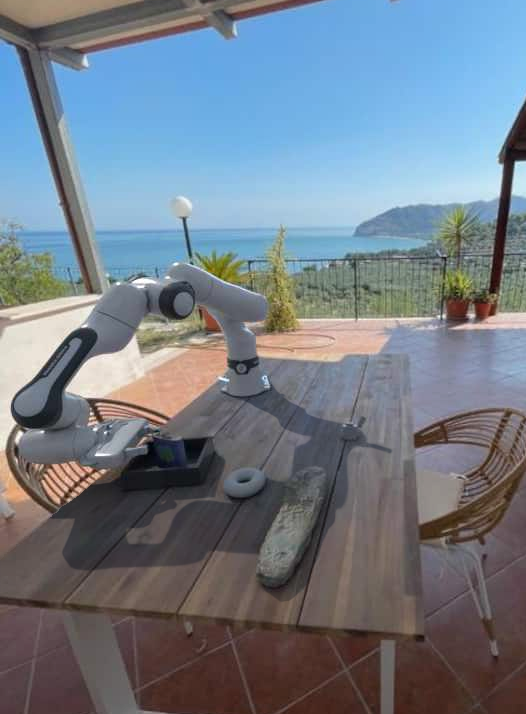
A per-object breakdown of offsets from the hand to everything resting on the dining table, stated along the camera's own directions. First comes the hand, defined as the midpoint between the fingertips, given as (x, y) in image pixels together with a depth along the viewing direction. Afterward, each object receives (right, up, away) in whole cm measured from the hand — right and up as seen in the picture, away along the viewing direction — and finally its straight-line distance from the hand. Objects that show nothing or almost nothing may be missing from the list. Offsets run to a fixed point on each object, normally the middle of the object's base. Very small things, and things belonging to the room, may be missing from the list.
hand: (154, 439), depth 99 cm
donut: (+24, -12, -4) cm, 27 cm away
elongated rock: (+39, -16, -15) cm, 45 cm away
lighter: (+51, -3, +20) cm, 55 cm away
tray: (+3, -8, +4) cm, 10 cm away
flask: (+3, -8, +4) cm, 9 cm away
